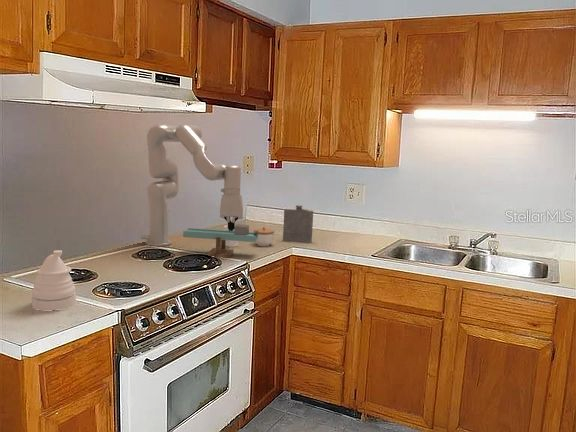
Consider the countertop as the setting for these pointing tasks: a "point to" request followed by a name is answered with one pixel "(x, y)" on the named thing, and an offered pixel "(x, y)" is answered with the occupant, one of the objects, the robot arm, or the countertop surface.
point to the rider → (241, 229)
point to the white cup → (229, 242)
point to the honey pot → (53, 285)
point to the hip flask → (298, 225)
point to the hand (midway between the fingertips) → (231, 230)
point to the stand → (220, 249)
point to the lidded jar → (264, 236)
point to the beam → (220, 235)
